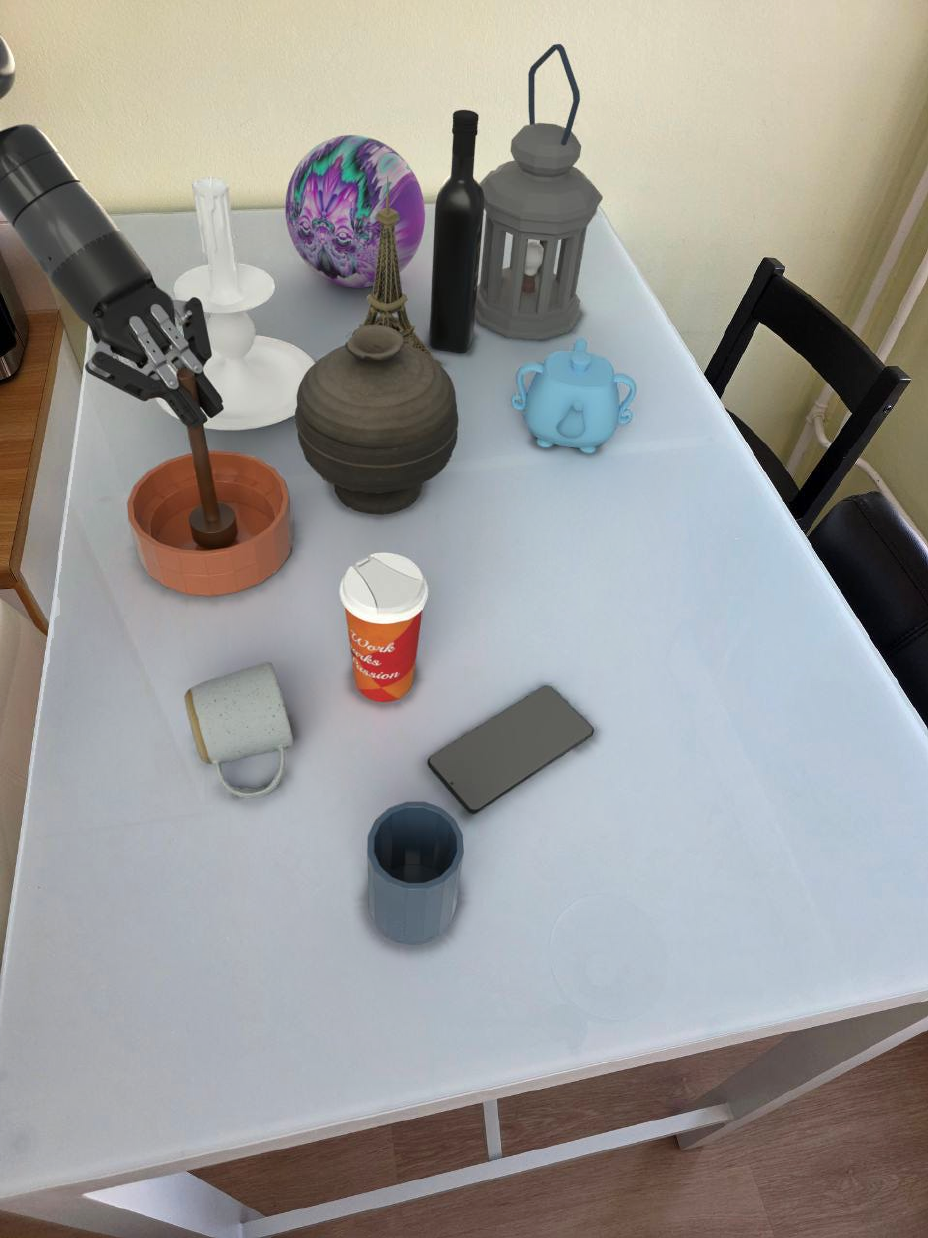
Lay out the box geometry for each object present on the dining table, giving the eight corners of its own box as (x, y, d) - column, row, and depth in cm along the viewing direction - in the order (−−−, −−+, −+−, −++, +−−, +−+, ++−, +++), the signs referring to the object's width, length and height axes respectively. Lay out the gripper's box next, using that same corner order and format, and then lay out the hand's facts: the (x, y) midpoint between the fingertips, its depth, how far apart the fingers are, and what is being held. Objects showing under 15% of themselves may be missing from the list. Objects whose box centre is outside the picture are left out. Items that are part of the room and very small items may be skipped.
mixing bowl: (247, 618, 93) (240, 573, 88) (109, 572, 95) (94, 526, 91) (317, 519, 103) (314, 474, 98) (191, 480, 106) (181, 435, 101)
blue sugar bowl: (576, 396, 123) (587, 319, 115) (646, 450, 115) (663, 372, 107) (500, 424, 118) (505, 346, 110) (567, 483, 110) (579, 403, 102)
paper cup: (328, 675, 88) (320, 575, 78) (389, 636, 92) (389, 536, 82) (379, 726, 85) (378, 628, 74) (440, 684, 89) (448, 585, 78)
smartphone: (597, 730, 85) (472, 813, 78) (595, 735, 86) (471, 819, 79) (548, 682, 88) (424, 758, 82) (546, 687, 89) (424, 763, 82)
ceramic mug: (189, 718, 84) (175, 668, 78) (277, 694, 86) (270, 644, 81) (214, 816, 78) (201, 769, 72) (307, 788, 80) (302, 740, 74)
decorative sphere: (265, 291, 134) (251, 150, 119) (329, 236, 147) (323, 101, 132) (388, 326, 130) (389, 184, 115) (443, 266, 143) (450, 131, 128)
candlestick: (298, 331, 128) (282, 117, 107) (337, 437, 113) (326, 213, 92) (147, 347, 123) (98, 127, 102) (165, 461, 108) (113, 229, 87)
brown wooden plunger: (246, 537, 98) (222, 377, 83) (206, 555, 96) (173, 394, 81) (223, 512, 100) (196, 352, 85) (184, 529, 98) (148, 368, 83)
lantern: (446, 302, 136) (461, 35, 110) (525, 270, 144) (556, 14, 118) (525, 353, 128) (561, 78, 102) (604, 316, 136) (656, 52, 110)
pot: (301, 544, 99) (292, 378, 85) (296, 453, 112) (287, 295, 98) (463, 538, 102) (479, 376, 88) (440, 449, 115) (451, 296, 101)
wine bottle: (474, 334, 131) (493, 108, 108) (467, 355, 127) (485, 126, 104) (435, 327, 131) (446, 101, 108) (427, 349, 127) (437, 119, 105)
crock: (437, 958, 71) (443, 903, 63) (354, 926, 72) (351, 869, 65) (467, 879, 75) (476, 820, 68) (389, 850, 77) (390, 789, 69)
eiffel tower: (386, 333, 129) (387, 149, 110) (441, 364, 125) (451, 178, 106) (331, 362, 124) (322, 173, 105) (387, 396, 119) (388, 205, 101)
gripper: (33, 263, 73) (173, 444, 79) (157, 204, 81) (276, 371, 87) (8, 302, 79) (140, 468, 84) (126, 243, 87) (240, 398, 92)
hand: (209, 418), depth 85 cm, fingers closed on brown wooden plunger
